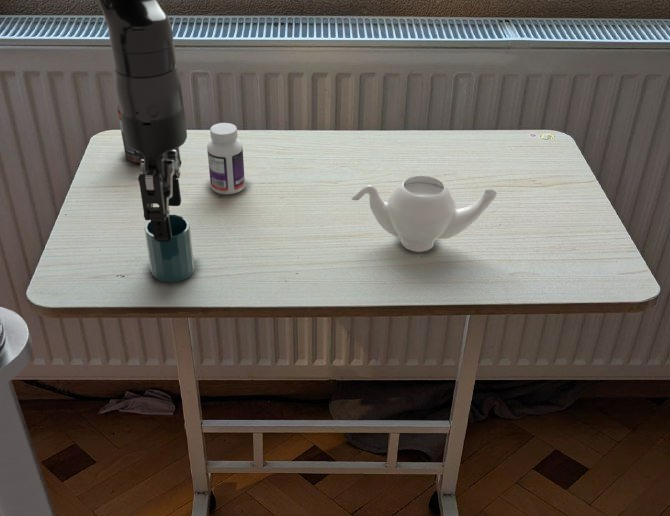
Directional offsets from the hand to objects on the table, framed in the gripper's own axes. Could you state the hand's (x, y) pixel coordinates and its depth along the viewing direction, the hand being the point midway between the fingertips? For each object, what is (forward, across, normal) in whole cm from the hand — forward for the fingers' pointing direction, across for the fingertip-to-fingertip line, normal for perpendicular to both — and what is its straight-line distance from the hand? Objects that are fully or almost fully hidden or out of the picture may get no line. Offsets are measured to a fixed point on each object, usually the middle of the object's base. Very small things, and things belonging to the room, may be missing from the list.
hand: (168, 222), depth 110 cm
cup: (+8, 0, 0) cm, 8 cm away
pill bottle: (+8, -23, +5) cm, 25 cm away
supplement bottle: (+8, -32, -10) cm, 34 cm away
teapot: (+8, -8, +34) cm, 36 cm away
